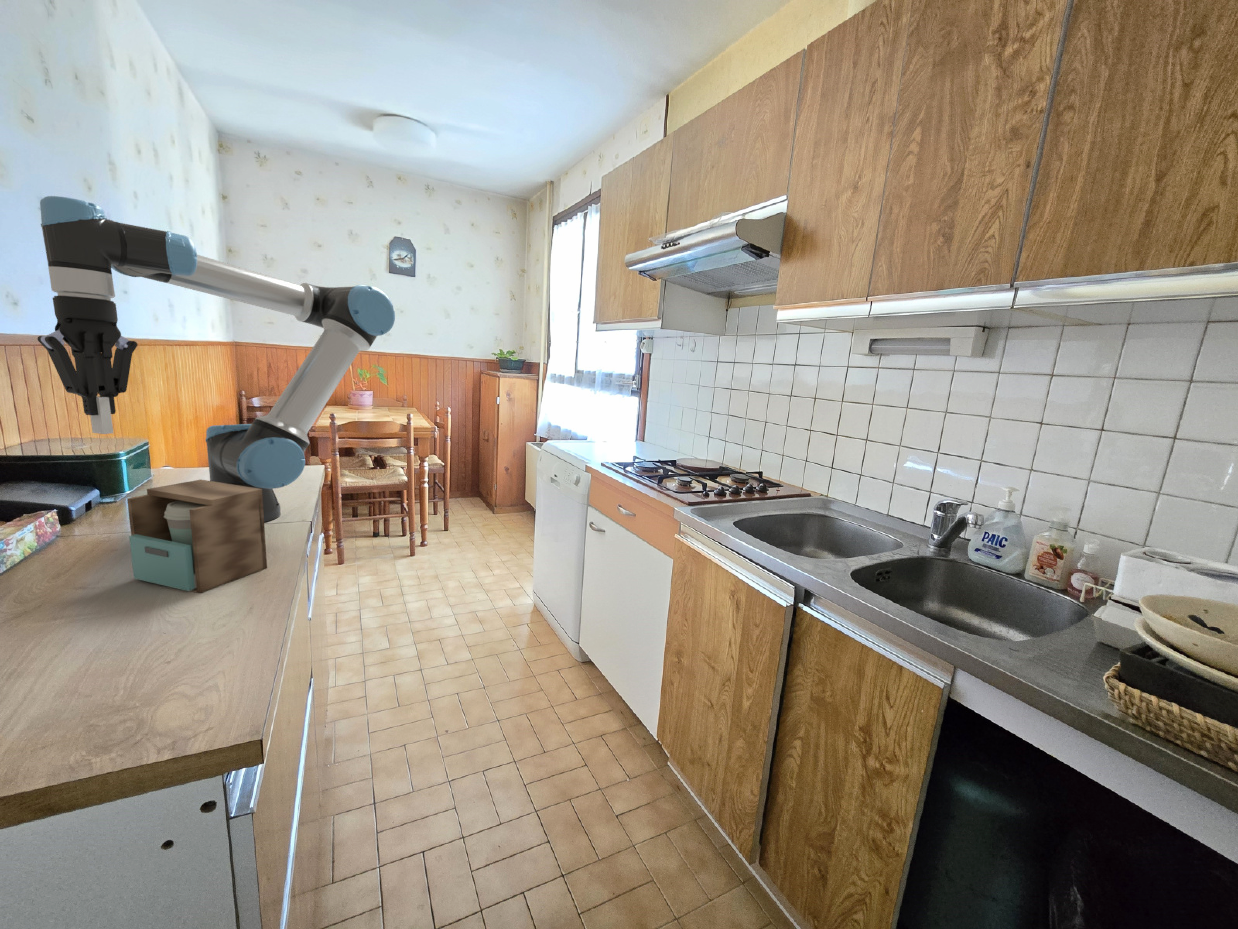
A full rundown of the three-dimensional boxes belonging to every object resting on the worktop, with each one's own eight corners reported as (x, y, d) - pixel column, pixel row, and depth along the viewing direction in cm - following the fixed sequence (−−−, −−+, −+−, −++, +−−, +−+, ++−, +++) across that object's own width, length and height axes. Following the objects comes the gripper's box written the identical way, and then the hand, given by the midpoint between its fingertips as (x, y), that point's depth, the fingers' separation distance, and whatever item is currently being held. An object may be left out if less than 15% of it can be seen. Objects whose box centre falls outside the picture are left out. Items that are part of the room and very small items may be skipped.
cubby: (207, 555, 100) (200, 479, 97) (267, 568, 96) (261, 489, 93) (136, 578, 88) (126, 492, 85) (200, 593, 84) (192, 504, 82)
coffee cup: (242, 561, 94) (237, 499, 92) (196, 579, 86) (190, 511, 84) (205, 555, 96) (199, 494, 94) (156, 572, 88) (149, 505, 86)
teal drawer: (207, 555, 98) (204, 517, 97) (258, 565, 95) (255, 526, 94) (132, 579, 87) (127, 536, 85) (187, 591, 84) (182, 547, 82)
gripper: (114, 301, 94) (129, 427, 98) (17, 290, 81) (40, 435, 86) (144, 302, 92) (159, 431, 96) (49, 291, 79) (71, 439, 84)
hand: (103, 432), depth 91 cm, fingers closed
